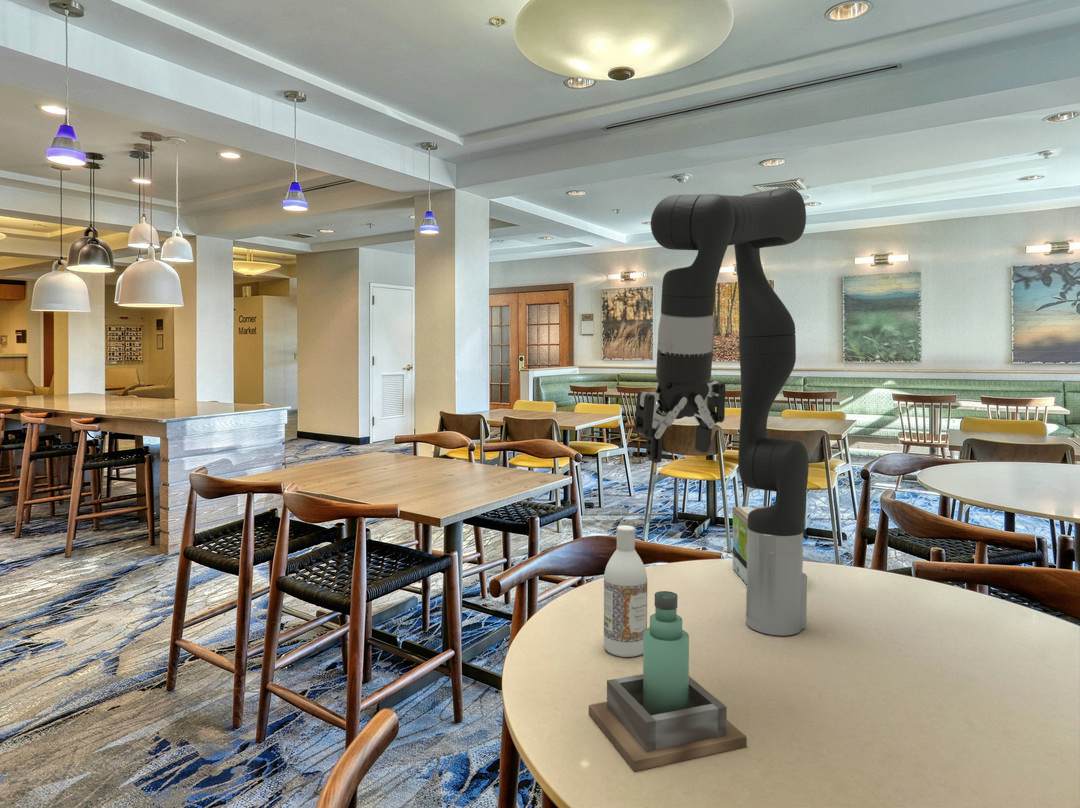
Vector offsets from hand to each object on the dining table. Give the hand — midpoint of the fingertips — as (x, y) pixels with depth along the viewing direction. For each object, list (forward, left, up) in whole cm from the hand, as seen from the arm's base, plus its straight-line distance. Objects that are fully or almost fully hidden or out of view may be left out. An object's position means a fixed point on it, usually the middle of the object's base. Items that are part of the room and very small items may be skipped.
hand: (678, 456), depth 94 cm
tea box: (-41, -33, -33) cm, 62 cm away
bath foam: (+3, -11, -33) cm, 35 cm away
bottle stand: (+9, +12, -33) cm, 36 cm away
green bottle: (+9, +12, -32) cm, 35 cm away
